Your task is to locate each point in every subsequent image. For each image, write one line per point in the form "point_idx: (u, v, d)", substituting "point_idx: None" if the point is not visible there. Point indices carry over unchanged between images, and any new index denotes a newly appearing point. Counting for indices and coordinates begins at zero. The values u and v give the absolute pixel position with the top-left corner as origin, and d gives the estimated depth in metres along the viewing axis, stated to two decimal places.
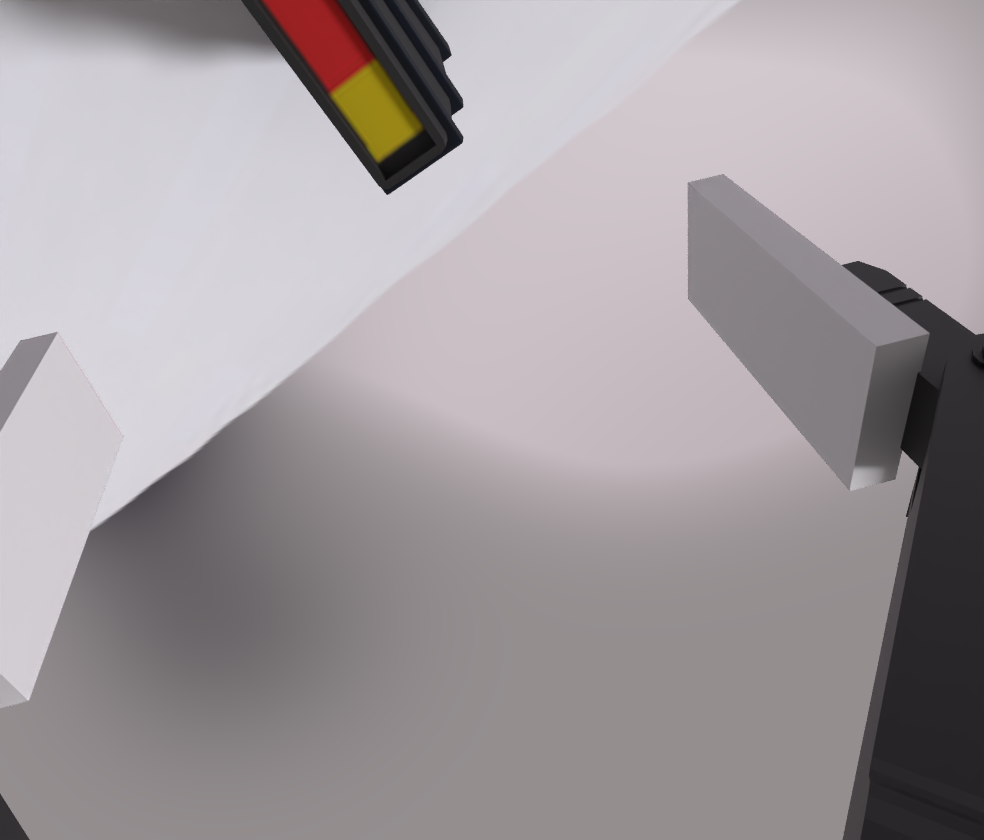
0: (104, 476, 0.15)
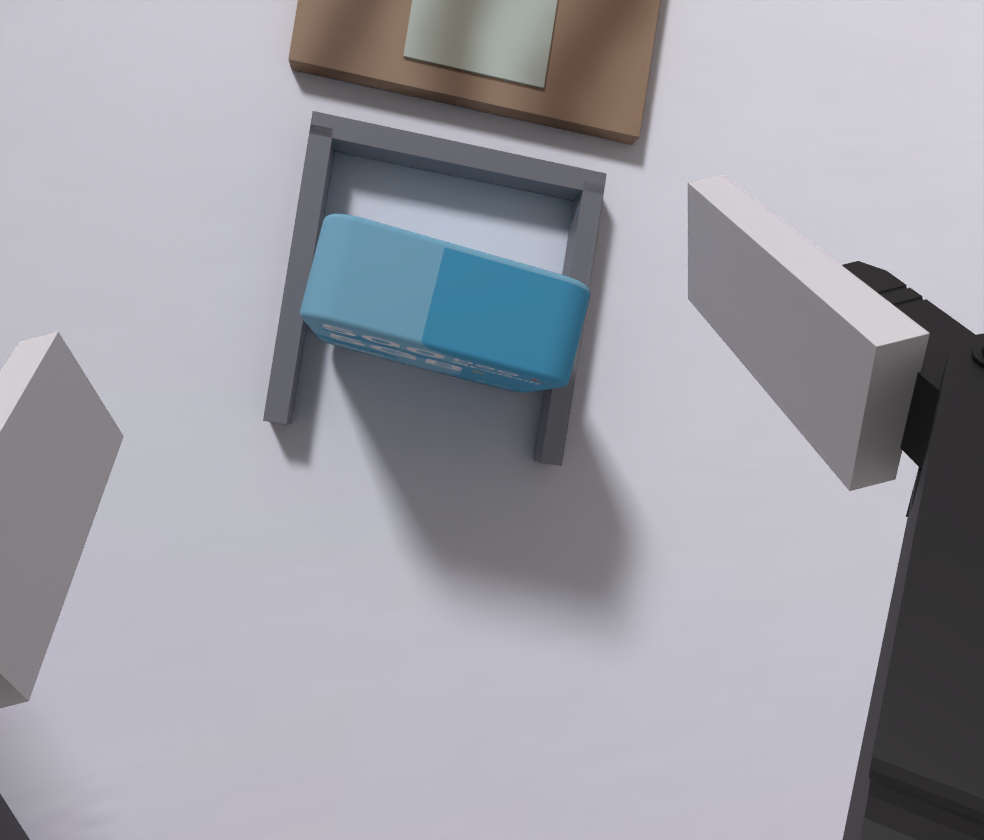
0: (104, 476, 0.15)
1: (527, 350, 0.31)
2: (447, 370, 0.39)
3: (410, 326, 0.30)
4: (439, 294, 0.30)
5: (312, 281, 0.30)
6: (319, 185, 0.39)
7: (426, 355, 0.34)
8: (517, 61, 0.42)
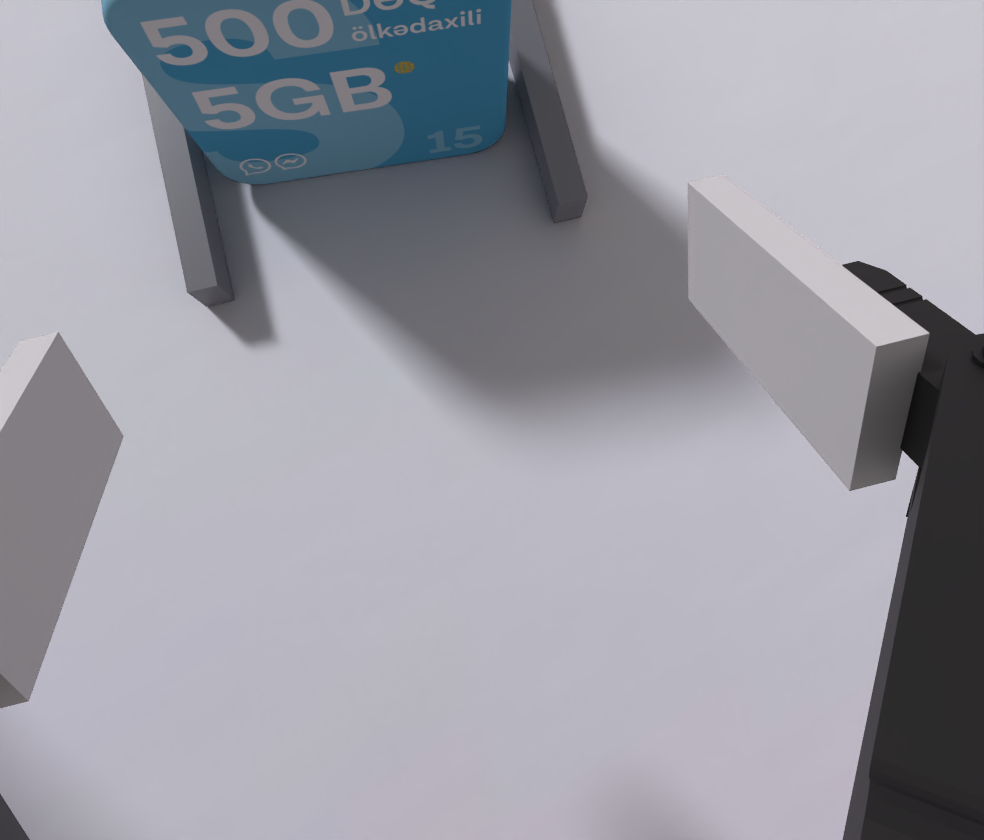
0: (104, 476, 0.15)
1: None
2: (384, 128, 0.29)
3: None
4: None
5: None
6: None
7: (315, 46, 0.23)
8: None
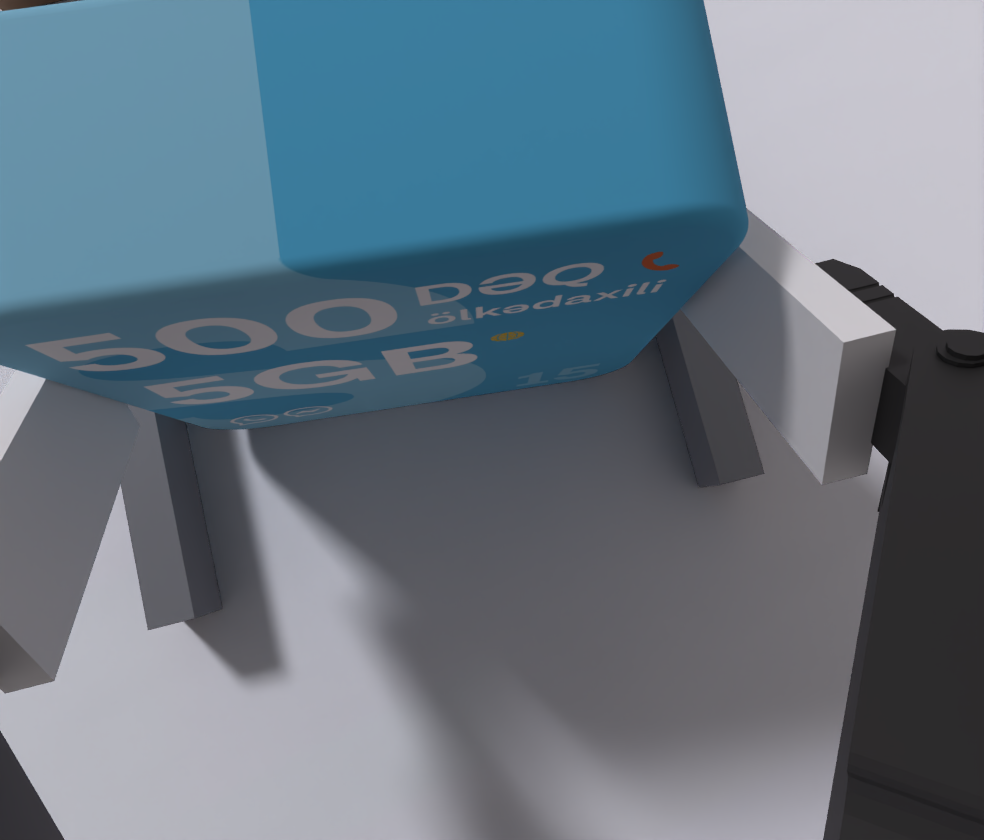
0: (122, 464, 0.15)
1: (598, 162, 0.10)
2: (456, 379, 0.18)
3: (235, 236, 0.10)
4: (281, 114, 0.10)
5: None
6: None
7: (361, 334, 0.13)
8: None
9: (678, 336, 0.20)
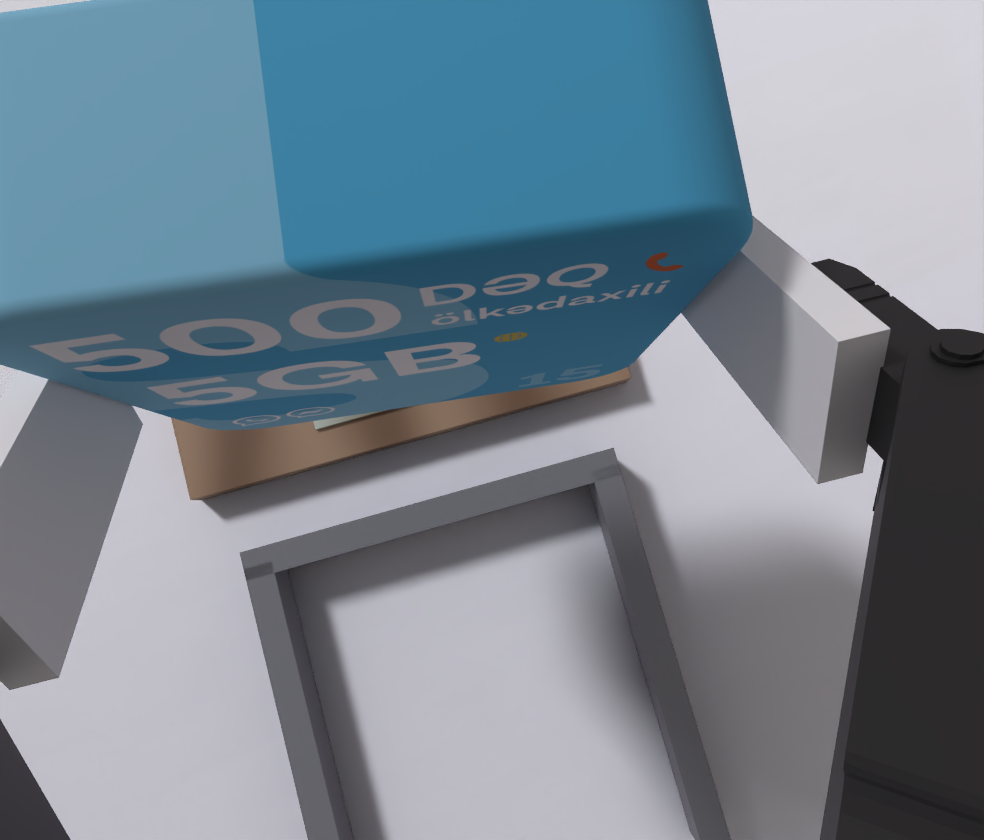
0: (125, 462, 0.15)
1: (602, 162, 0.10)
2: (459, 379, 0.18)
3: (239, 236, 0.10)
4: (286, 114, 0.10)
5: None
6: (283, 636, 0.31)
7: (364, 335, 0.13)
8: None
9: (674, 751, 0.30)
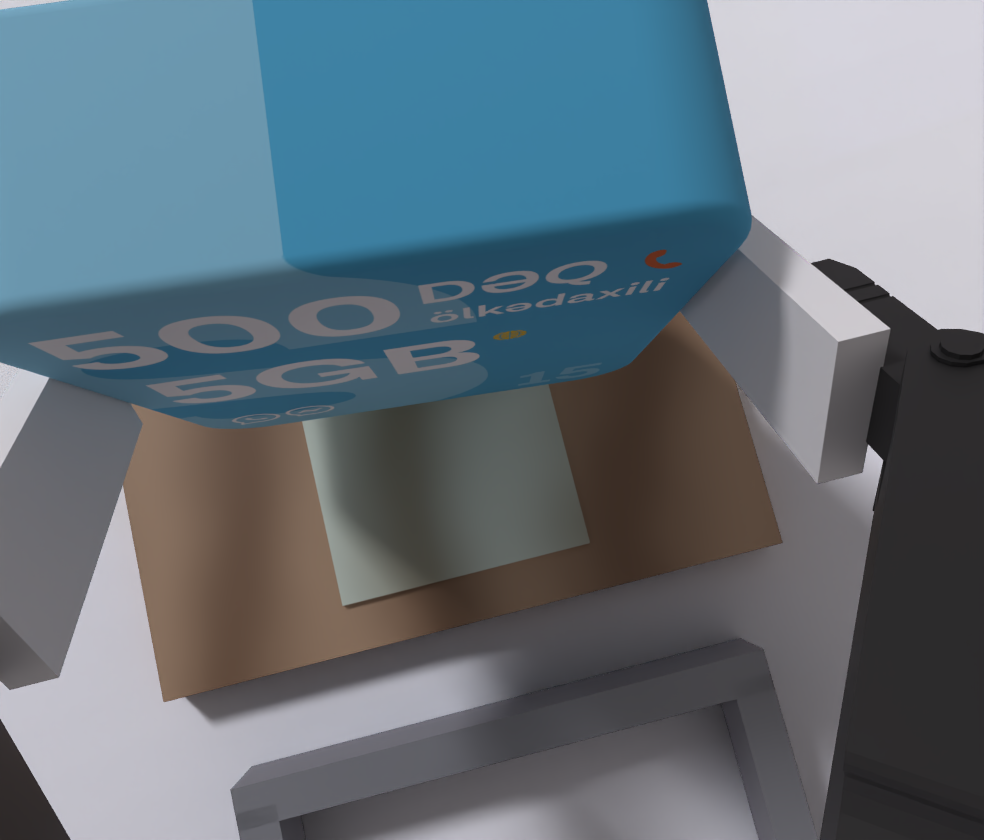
0: (125, 462, 0.15)
1: (601, 159, 0.10)
2: (459, 378, 0.18)
3: (237, 233, 0.10)
4: (285, 111, 0.10)
5: None
6: None
7: (364, 333, 0.13)
8: (529, 519, 0.24)
9: None
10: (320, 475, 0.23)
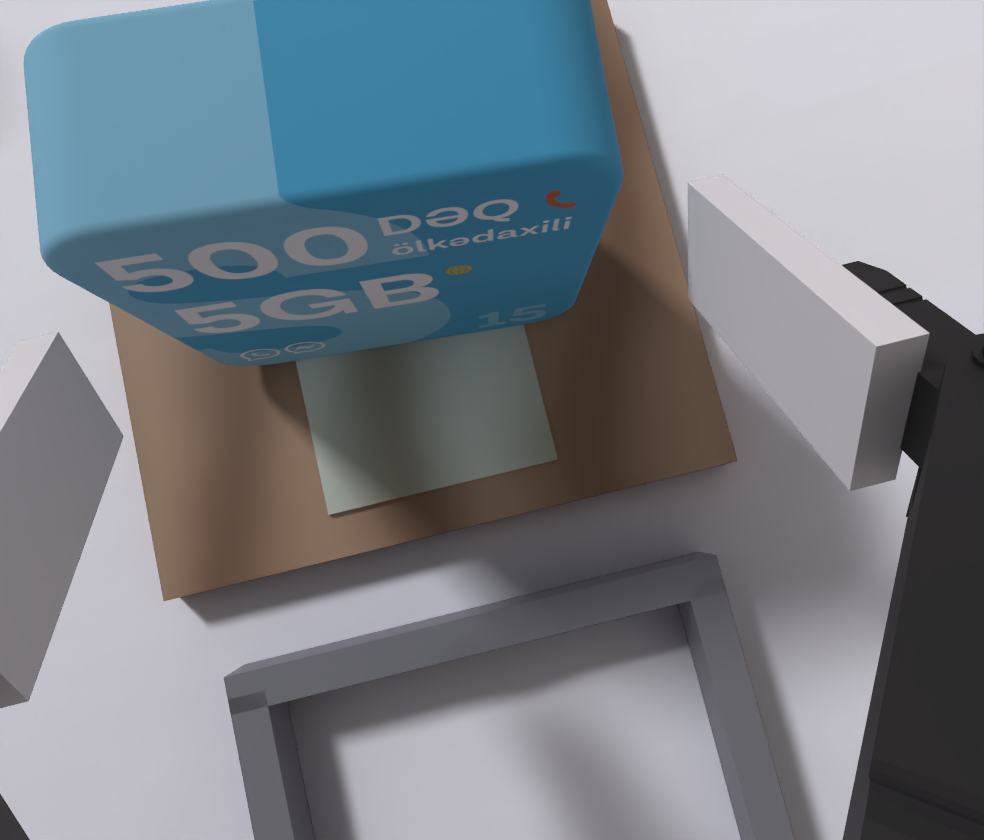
0: (104, 476, 0.15)
1: (504, 123, 0.14)
2: (426, 315, 0.22)
3: (246, 177, 0.14)
4: (278, 91, 0.14)
5: (35, 186, 0.14)
6: (276, 792, 0.23)
7: (342, 263, 0.17)
8: (501, 437, 0.25)
9: None
10: (309, 396, 0.25)
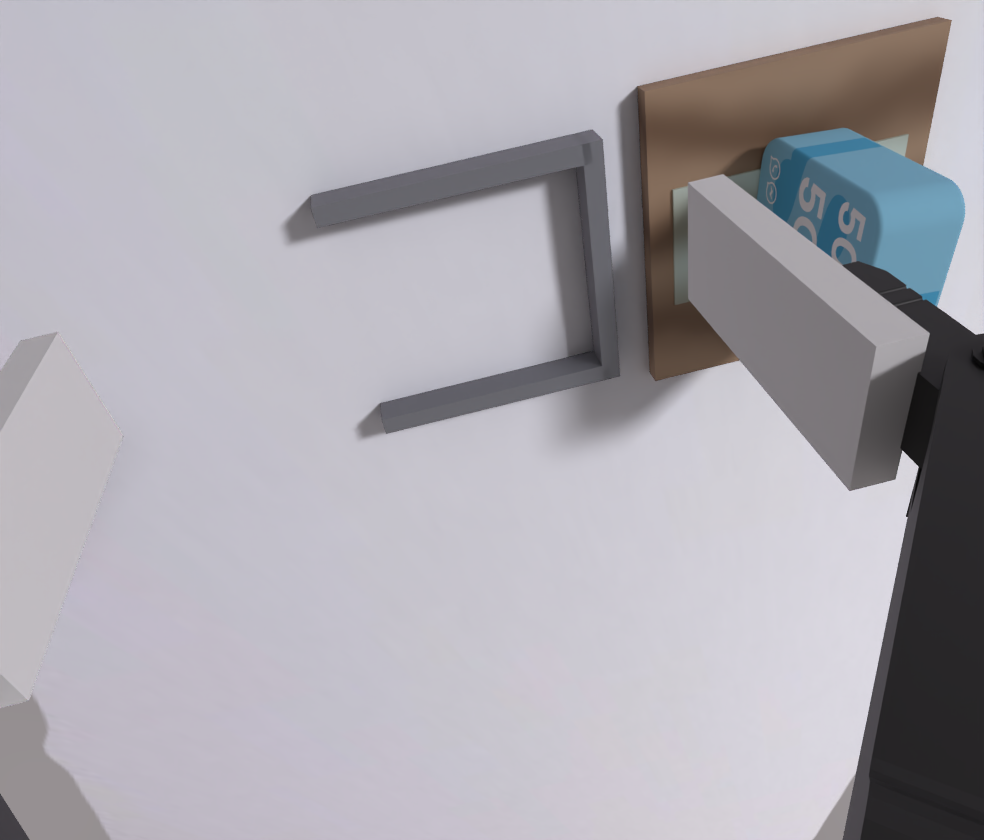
0: (104, 476, 0.15)
1: None
2: None
3: None
4: None
5: (905, 200, 0.35)
6: (538, 171, 0.42)
7: None
8: None
9: (440, 405, 0.50)
10: (738, 178, 0.45)
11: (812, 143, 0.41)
